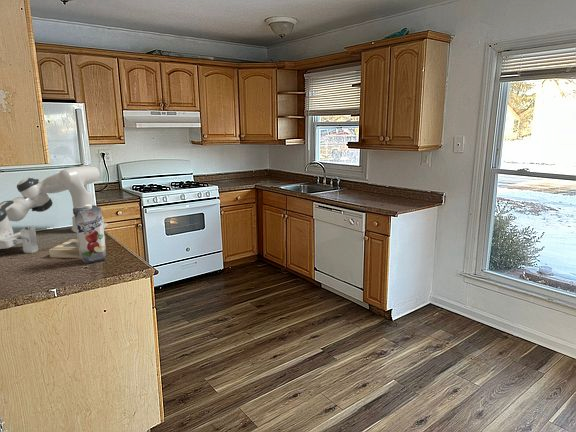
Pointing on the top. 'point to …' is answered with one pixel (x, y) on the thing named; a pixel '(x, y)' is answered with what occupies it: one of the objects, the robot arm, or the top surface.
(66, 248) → the birch stand
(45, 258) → the top surface
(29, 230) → the square capped bottle
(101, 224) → the juice carton
